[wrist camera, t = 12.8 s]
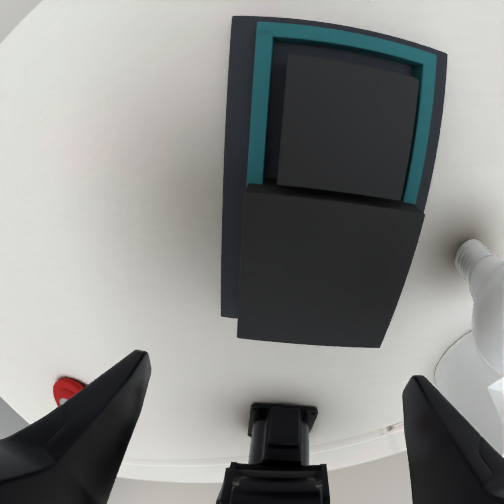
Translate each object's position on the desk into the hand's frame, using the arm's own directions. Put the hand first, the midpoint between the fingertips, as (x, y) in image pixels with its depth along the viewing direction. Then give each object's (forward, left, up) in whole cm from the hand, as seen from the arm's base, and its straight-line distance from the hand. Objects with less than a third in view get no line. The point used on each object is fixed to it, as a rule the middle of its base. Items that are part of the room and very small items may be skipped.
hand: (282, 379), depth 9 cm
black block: (+7, -2, -10) cm, 13 cm away
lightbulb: (0, -13, -12) cm, 18 cm away
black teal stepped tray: (+3, -2, -11) cm, 12 cm away
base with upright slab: (-11, -20, -12) cm, 26 cm away
